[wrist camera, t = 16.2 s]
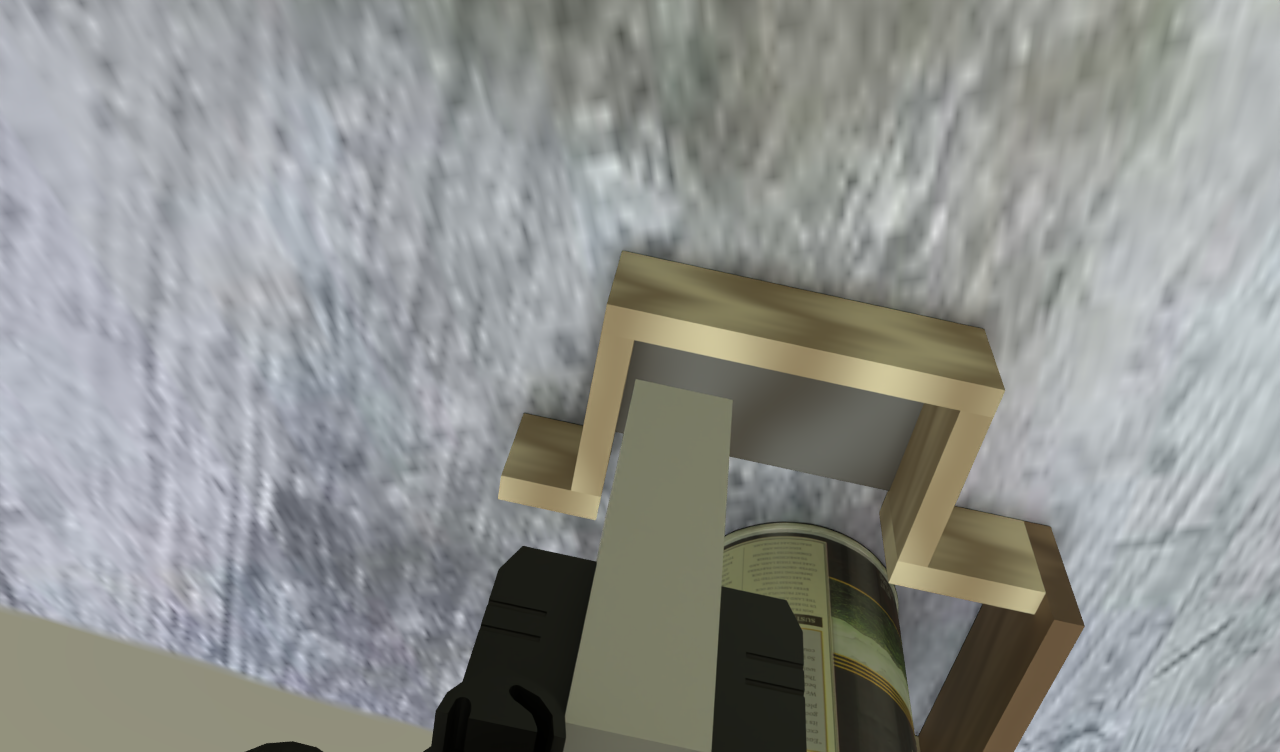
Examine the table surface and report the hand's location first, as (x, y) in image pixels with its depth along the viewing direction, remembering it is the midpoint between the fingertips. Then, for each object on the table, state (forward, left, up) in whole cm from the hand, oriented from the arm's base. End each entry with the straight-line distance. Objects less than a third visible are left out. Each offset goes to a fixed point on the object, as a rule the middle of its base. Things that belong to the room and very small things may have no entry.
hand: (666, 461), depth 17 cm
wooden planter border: (+6, -24, -24) cm, 35 cm away
